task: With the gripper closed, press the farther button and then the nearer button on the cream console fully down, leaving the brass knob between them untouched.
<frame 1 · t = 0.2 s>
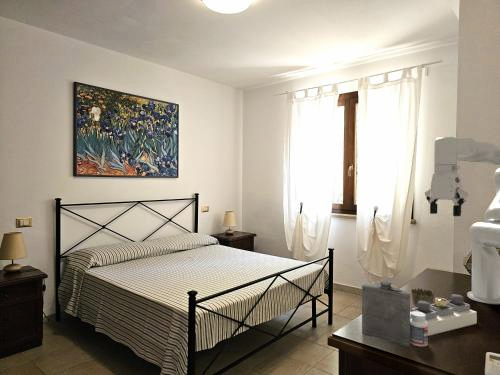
hand: (444, 214, 126), 36 cm above the dresser, tool pointing down, fingers open, 9 cm apart
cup: (422, 313, 123), on the dresser
pill bottle: (418, 343, 101), on the dresser
button 2: (457, 299, 116), point 7 cm above the dresser, slide at 0.0 cm
console: (440, 323, 113), on the dresser
button 1: (423, 306, 110), point 7 cm above the dresser, slide at 0.0 cm
flask: (385, 338, 104), on the dresser
brass knob: (440, 302, 113), point 7 cm above the dresser, slide at 0.0 cm
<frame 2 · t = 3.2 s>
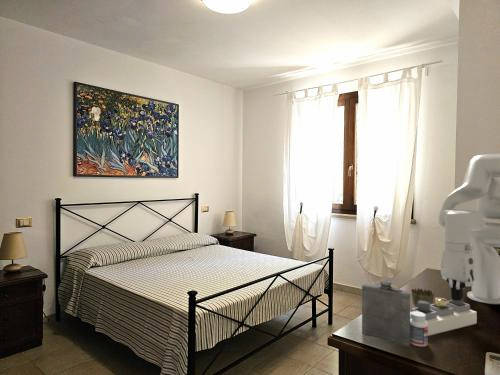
hand: (456, 299, 116), 7 cm above the dresser, tool pointing down, fingers closed
button 2: (457, 302, 116), point 6 cm above the dresser, slide at 1.1 cm, touching gripper
everything else where it was.
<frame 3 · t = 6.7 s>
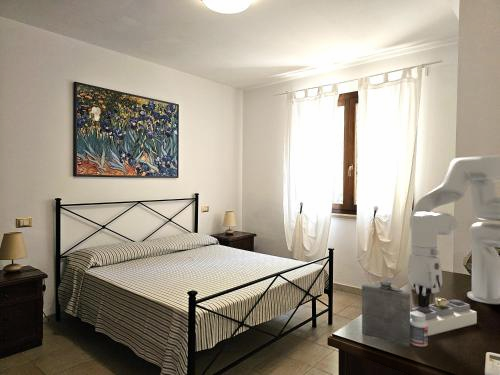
hand: (423, 306, 110), 7 cm above the dresser, tool pointing down, fingers closed
button 2: (457, 305, 116), point 5 cm above the dresser, slide at 1.9 cm, touching console
button 1: (423, 309, 110), point 6 cm above the dresser, slide at 1.1 cm, touching gripper
everything else where it was.
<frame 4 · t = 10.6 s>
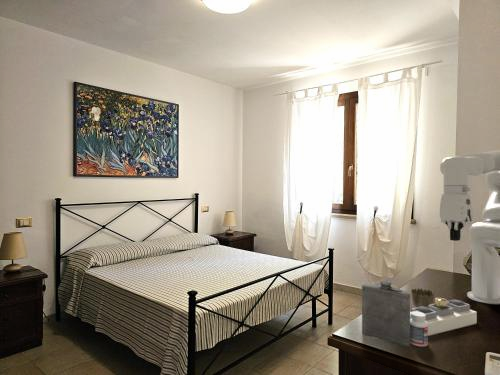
hand: (455, 240, 122), 27 cm above the dresser, tool pointing down, fingers closed
button 1: (423, 312, 110), point 5 cm above the dresser, slide at 1.9 cm
everything else where it was.
at the end: button 2 slide at 1.9 cm; button 1 slide at 1.9 cm; brass knob slide at 0.0 cm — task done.
